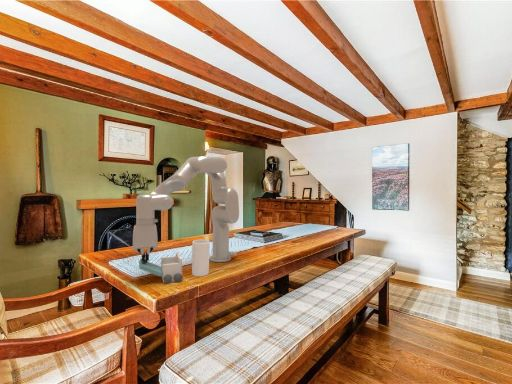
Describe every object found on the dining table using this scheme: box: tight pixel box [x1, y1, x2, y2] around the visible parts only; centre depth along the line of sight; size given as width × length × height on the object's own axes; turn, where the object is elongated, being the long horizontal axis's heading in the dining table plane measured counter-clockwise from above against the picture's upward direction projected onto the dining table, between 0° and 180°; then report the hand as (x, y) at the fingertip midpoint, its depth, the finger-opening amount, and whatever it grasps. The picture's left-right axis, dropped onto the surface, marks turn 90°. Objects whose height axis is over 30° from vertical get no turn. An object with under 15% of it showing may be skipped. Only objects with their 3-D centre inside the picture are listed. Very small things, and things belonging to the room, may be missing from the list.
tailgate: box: [138, 258, 163, 278], centre depth 116 cm, size 2×11×10 cm
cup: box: [191, 239, 210, 277], centre depth 126 cm, size 8×8×16 cm
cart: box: [160, 251, 183, 284], centre depth 120 cm, size 8×14×10 cm, turn 25°
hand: (145, 262), depth 115 cm, fingers closed
